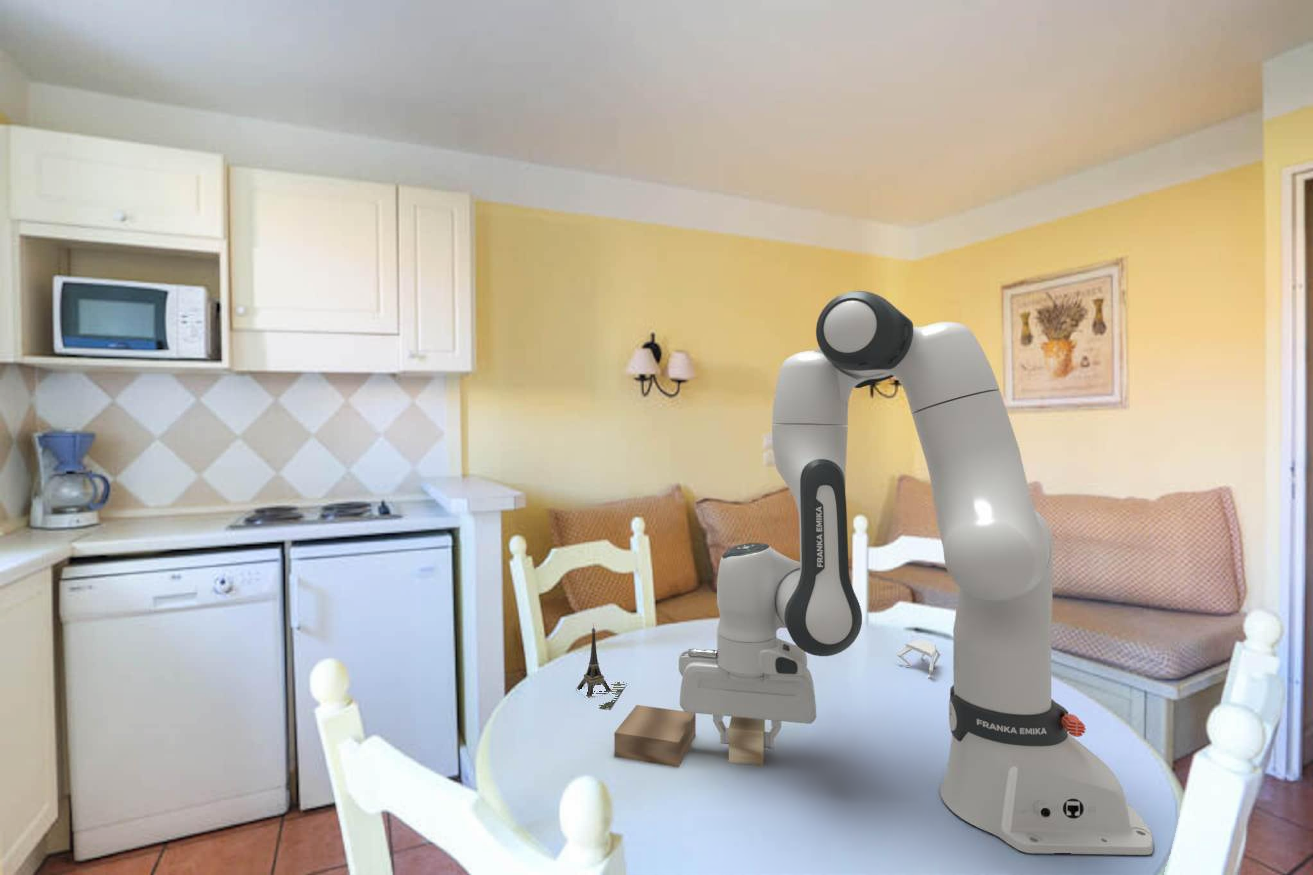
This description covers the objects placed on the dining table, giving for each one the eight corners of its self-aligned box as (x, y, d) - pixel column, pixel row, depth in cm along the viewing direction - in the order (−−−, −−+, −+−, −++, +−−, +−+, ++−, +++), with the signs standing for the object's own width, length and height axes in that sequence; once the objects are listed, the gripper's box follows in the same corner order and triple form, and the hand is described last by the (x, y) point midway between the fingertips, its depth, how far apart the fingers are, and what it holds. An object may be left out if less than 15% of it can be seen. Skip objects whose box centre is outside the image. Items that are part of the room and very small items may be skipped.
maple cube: (765, 748, 95) (764, 716, 95) (763, 765, 90) (763, 731, 90) (732, 745, 96) (732, 713, 96) (728, 762, 91) (728, 728, 91)
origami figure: (889, 660, 132) (889, 637, 132) (927, 659, 133) (927, 636, 133) (917, 683, 120) (917, 657, 120) (959, 681, 121) (959, 656, 121)
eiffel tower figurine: (611, 713, 109) (610, 637, 109) (556, 708, 111) (556, 634, 111) (631, 680, 124) (631, 613, 124) (582, 677, 126) (582, 611, 126)
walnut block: (695, 737, 100) (695, 712, 100) (678, 769, 90) (678, 742, 90) (636, 728, 103) (636, 704, 103) (614, 759, 93) (614, 732, 93)
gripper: (674, 654, 92) (675, 747, 92) (816, 665, 88) (817, 762, 88) (682, 641, 99) (682, 728, 99) (815, 650, 94) (815, 741, 94)
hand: (747, 744), depth 93 cm, fingers closed on maple cube, 5 cm apart
